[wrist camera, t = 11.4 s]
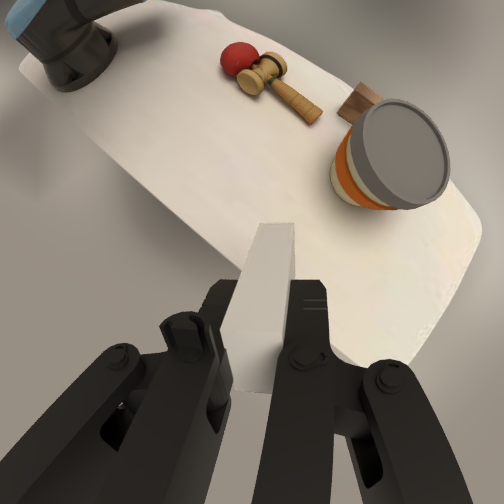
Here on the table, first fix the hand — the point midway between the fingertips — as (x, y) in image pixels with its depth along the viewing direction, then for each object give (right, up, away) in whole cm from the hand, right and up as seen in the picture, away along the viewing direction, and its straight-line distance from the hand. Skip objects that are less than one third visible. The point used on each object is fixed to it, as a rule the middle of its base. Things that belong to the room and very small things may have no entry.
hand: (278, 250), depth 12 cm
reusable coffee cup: (+15, +11, +26) cm, 32 cm away
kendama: (+2, +26, +25) cm, 36 cm away
